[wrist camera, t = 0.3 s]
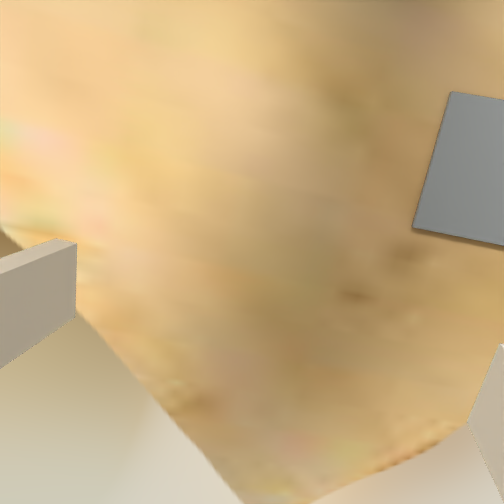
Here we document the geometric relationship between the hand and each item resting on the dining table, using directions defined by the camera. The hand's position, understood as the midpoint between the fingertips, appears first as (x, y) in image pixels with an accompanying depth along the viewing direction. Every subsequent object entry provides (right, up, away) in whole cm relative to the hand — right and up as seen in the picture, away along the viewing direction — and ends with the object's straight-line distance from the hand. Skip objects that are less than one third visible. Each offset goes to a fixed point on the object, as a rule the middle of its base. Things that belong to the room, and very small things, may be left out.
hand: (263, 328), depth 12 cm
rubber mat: (+22, +9, +22) cm, 33 cm away
